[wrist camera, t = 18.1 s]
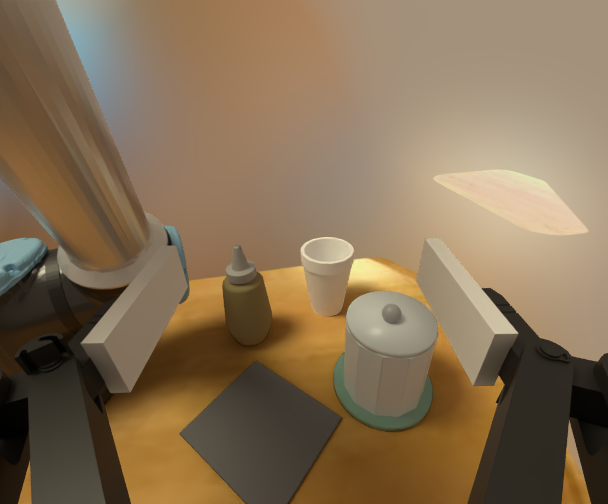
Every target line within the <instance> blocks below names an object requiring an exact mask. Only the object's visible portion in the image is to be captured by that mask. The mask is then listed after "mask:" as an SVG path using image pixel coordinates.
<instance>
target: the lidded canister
mask: <svg viewBox="0 0 608 504" xmlns="http://www.w3.org/2000/svg"><path fill="white" fill-rule="evenodd" d="M437 338H438V324H437V321H436V318H435V316H434V315H433V313H432V312H431V311H430V310H429V309H428V308H427V307H426V306H425V305H424V304H422V303H421V302H419V301H418V300H416V299H414V298H412V297H410V296H407V295H404V294H401V293H397V292H391V291H375V292H370V293H366V294H364V295H361V296H359V297H358V298H356V299H355V300H354V301H353V302H352V303H351V304H350V306H349V308H348V311H347V313H346V333H345V354H344V386H345V388H346V390H347V391H348V393H349V394H350V396H351V398H352V399H353V401H354V403H356V404H357V405H359V406H361V407H362V408H364V409H365V410H367V411H369V412H370V413H372V414H374V415H378V416H389V417H399V416H401V415H403V414H405V413H407V412H409V411H411V410H413V409H415V408H416V407H417V404H418V402H419V400H420V397H421V395H422V393H423V390H424V386H425V382H426V379H427V375H428V371H429V367H430V364H431V360H432V356H433V353H434V349H435V345H436V342H437Z"/></svg>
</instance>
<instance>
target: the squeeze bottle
mask: <svg viewBox="0 0 608 504" xmlns="http://www.w3.org/2000/svg"><path fill="white" fill-rule="evenodd" d="M226 276H227V277H226V278H225V280H224V281H223V286H222V287H223V298H224V309H225V319H226V326H227V328H228V330H229V331H230V332H231V334H232V335H233V336H234V337H235V339H236V340H237V341H238V342H239V343H241V344H242V345H248V346H250V345H256V344H258V343H260V342H262V341H263V340H264V339H265V338H266V336H267V334H268V332H269V328H270V325H271V322H272V311H271V307H270V304H269V300H268V296H267V292H266V288H265V284H264V280H263V277H262V275H261V274H260V273H258V272H256V267H255V264H254V263H253V262H251V261H248V260H246V257H245V255H244V253H243V250H242V248H241V246H239V245H236V246H234V247H233V257H232V263H231V264H230V265H228V266H227V268H226Z"/></svg>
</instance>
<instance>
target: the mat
mask: <svg viewBox="0 0 608 504" xmlns="http://www.w3.org/2000/svg"><path fill="white" fill-rule="evenodd" d="M341 419H342V417H341V416H340V415H338V414H336V413H335V412H333V411H332V410H330V409H329V408H327V407H326V406H324V405H323V404H321V403H320V402H318V401H317V400H315V399H314V398H312V397H311V396H309V395H308V394H306V393H305V392H303V391H302V390H300V389H299V388H297V387H296V386H294V385H293V384H291V383H290V382H288V381H287V380H285V379H284V378H282V377H281V376H279V375H278V374H276V373H274V372H273V371H271V370H270V369H268V368H267V367H265V366H264V365H262V364H261V363H259V362H258V361H255V362H254V363H252V364H251V365H250V366H249V367H248V368H247V369H246V370H245V371H244V372H243V373H242V374H241V375H240V376H239V377H238V378H237V379H236V380H235V381H234V382H233V383H232V384H230V385H229V386H228V387H227V388H226V389H225V390H224V391H223V392H222V393H221V394H220V395H219V396H218V397H217V398H216V399H215V400H214V401H213V402H212V403H211V404H210V405H208V406H207V407H206V408H205V409H204V410H203V411H202V412H201V413H200V414H199V415H198V416H197V417H196V418H195V419H194V420H193V421H192V422H191V423H190V424H189V425H187V426H186V427H185V428H184V429H183V430H182V431H181V432H180V435H181V436H182V437H183V438H184V439H185V440H186V441H187V442H188V443H189V444H190V446H191V447H192V448H193V449H194V450H195V451H196V452H197V453H198V454H199V455H200V456H201V457H202V458H203V459H204V460H205V461H206V462H207V463H208V464H209V465H210V466H211V467H212V469H213V470H214V471H215V472H216V473H217V474H218V475H219V476H220V477H221V478H222V479H223V480H224V481H225V482H226V483H227V484H228V485H229V486H230V487H231V488H232V489H233V491H234V492H235V493H236V494H237V495H238V496H239V497H240V498H241V499H242V500H243V501H244V502H245V503H246V504H288V503H289V501H290V500H291V498H292V497H293V495H294V494H295V492H296V490H297V489H298V487H299V486H300V484H301V482H302V481H303V479H304V478H305V476H306V474H307V473H308V471H309V470H310V468H311V467H312V465H313V463H314V462H315V460H316V459H317V457H318V455H319V454H320V452H321V451H322V449H323V448H324V446H325V444H326V443H327V441H328V440H329V438H330V436H331V435H332V433H333V432H334V430H335V429H336V427H337V425H338V424H339V422H340V421H341Z"/></svg>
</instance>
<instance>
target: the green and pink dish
mask: <svg viewBox="0 0 608 504" xmlns="http://www.w3.org/2000/svg"><path fill="white" fill-rule="evenodd" d="M344 354H345V352H344V353H343V354H342V355H341V356H340V358H339V359H338V361H337V363H336V365H335V369H334V388H335V392H336V395H337V397H338V399H339V401H340V403H341V405H342V406H343V407H344V409H345V410H346V411H347V412H348V413H349V414H350V415H351V416H352V417H353V418H355V419H356V420H358V421H359V422H361V423H362V424H364V425H366V426H369V427H371V428H374V429H377V430H382V431H402V430H406V429H409V428H411V427H413V426H415V425H417V424H418V423H419V422H420V421H422V420H423V418H424V417H425V416H426V415H427V413H428V411H429V408H430V405H431V401H432V396H433V390H432V384H431V380H430V378H429V375H427V379H426V382H425V386H424V390H423V393H422V395H421V397H420V400H419V402H418V404H417V407H416V408H415V409H413V410H411V411H409V412H407V413H405V414H403V415H401V416H399V417H389V416H378V415H374V414H372V413H370V412H369V411H367V410H365V409H364V408H362V407H361V406H359V405H357V404H356V403H354V401H353V399H352V398H351V396H350V394H349V393H348V391H347V390H346V388H345V386H344Z"/></svg>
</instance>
